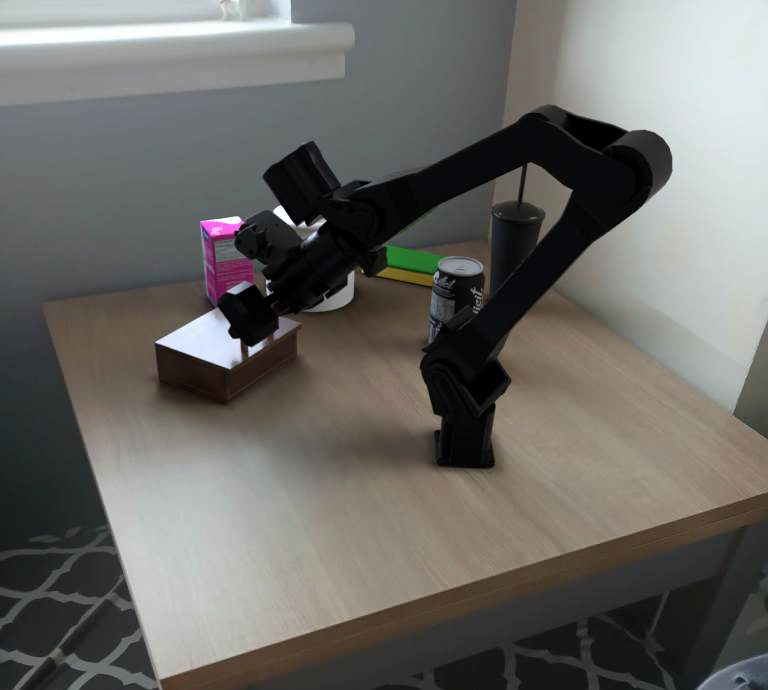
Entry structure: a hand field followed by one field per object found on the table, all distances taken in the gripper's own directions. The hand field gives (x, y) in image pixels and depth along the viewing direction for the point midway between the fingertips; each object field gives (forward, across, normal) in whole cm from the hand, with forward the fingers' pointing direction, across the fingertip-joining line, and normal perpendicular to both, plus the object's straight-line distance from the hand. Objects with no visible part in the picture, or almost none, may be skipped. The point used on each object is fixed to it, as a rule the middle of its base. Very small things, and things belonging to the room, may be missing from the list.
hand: (247, 325), depth 106 cm
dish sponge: (+4, -40, +6) cm, 41 cm away
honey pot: (+10, -25, 0) cm, 27 cm away
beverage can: (-8, -21, +18) cm, 28 cm away
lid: (+4, 0, 0) cm, 4 cm away
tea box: (+7, 0, +3) cm, 7 cm away
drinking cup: (-8, -39, +18) cm, 43 cm away
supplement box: (+15, -15, -5) cm, 22 cm away
